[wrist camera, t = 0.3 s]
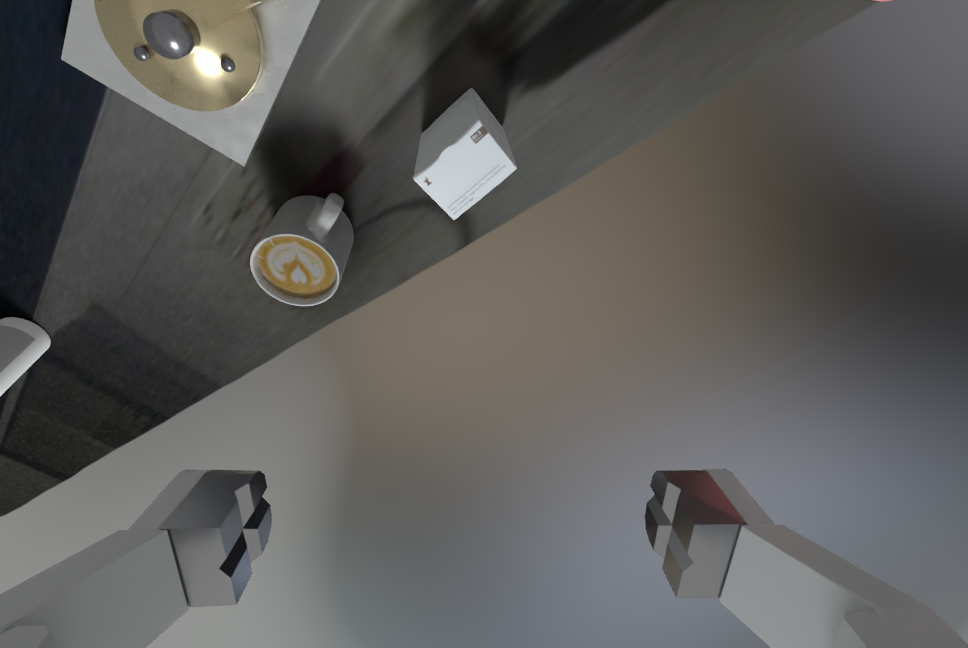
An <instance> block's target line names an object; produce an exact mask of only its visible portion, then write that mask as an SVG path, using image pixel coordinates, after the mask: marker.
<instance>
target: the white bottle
mask: <svg viewBox="0 0 968 648" xmlns="http://www.w3.org/2000/svg"><path fill="white" fill-rule="evenodd" d="M50 343H51V340H50V337H49V335H48V334H47V333H46V331H45V330H43V329H42V328H41V327H40V326H38V325H36V324H35V323H33V322H31V321H28V320H25V319H22V318H16V317H6V318H3V319H0V396H1V395H2V394H3V393H4V392H5V391H6V390H7V389H8V388H9V387H10V386H11V385H12V384H13V383H14V382H15V381H16V380H17V379H18V378H19V377H20V376H21V375H22V374H23V373H24V372H25V371H26V370H27V369H28V368H29V367H30V366H31V365H32V364H33V363H34V362H35V361H36V360H37V359H38V358H39V357H40V356H41V355H42V354H43V353H44V352H45V351H46V350H47V349H48V348H49V347H50Z"/></svg>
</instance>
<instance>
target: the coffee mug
mask: <svg viewBox="0 0 968 648" xmlns="http://www.w3.org/2000/svg"><path fill="white" fill-rule="evenodd" d="M343 204H344V200H343V199H342V197H340V196H339V195H337V194H335V193H331V194H329V196H328V197H327V198H326V199H323V198H320V197H316V196H298V197H295V198H292V199H290V200H288V201H287V202H285V203H284V204H283V205H282V206H281V207H280V209H279V210H278V212H277V213H276V215H275V217H274V218H273V220H272V221H271V223H270V224H269V226H268V227H267V229H266V230H265V232H264V233H263V235H262V236H261V238H260V239H259V241H258V242H257V244H256V245H255V247H254V249H253V251H252V254H251V258H250V267H251V271H252V274H253V276H254V278H255V280H256V282H257V283H258V284H259V285H260V287H261V288H262V289H263V290H264V291H265V292H266V293H268V294H269V295H271V296H272V297H274V298H276V299H277V300H280V301H282V302H284V303H287V304H291V305H296V306H312V305H317V304H320V303H322V302H324V301H326V300H328V299H329V298H330V297H331V296H332V295H333V294H334V293H335V292H336V290H337V288H338V286H339V283H340V280H341V277H342V274H343V271H344V268H345V265H346V262H347V259H348V256H349V253H350V250H351V247H352V244H353V240H354V233H353V228H352V225H351V222H350V220H349V219H348V217H347V215H346V214H345V213H344V212H343V211H342V210H341V209H342V207H343Z"/></svg>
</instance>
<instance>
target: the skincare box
mask: <svg viewBox="0 0 968 648" xmlns="http://www.w3.org/2000/svg"><path fill="white" fill-rule="evenodd" d="M516 169H517V167H516V164H515V161H514V158H513V154H512V152H511V150H510V147H509V144H508V141H507V138H506V136H505V133H504V130H503V127H502V126H501V125H500V123H499V122H498V121H497V119H496V118H495V117H494V115H493V114H492V113H491V112H490V110H489V109H488V108H487V106H486V105H485V104H484V102H483V101H482V100H481V98H480V97H479V96H478V94H477V93H476V92H475V91H474V89H473V88H470V89H469V90H467V91H466V92H465V93H464V94H463V95H462V96H461V97H460V98H459V99H458V100H457V101H456V102H454V103H453V104H452V105H451V106H450V107H449V108H448V109H447V110H446V111H445V112H444V113H443V114H442V115H441V116H439V117H438V118H437V119H436V120H435V121H434V122H433V124H432V125H431V126H430V127H429V128H428V129H426V130H425V131H424V132H423V133H422V134H421V137H420V143H419V149H418V155H417V161H416V166H415V172H414V177H413V179H414V181H415V182H417V183H418V184H419V185H420V186H421V188H422V189H423V190H424V191H425V192H426V193H427V194H428V195H429V196H430V197H431V198H432V199H433V200H434V201H435V202H436V203H437V204H438V205H439V206H440V207H441V208H442V209H443V210H444V211H445V212H446V213H447V214H448V215H449V216H450V217H451V218H452V219H453V220H455V219H456V218H458V217H459V216H460V215H461V214H462V213H464V212H465V211H466V210H467V209H469V208H470V207H471V206H472V205H474V204H475V203H476V202H477V201H479V200H480V199H481V198H482V197H484V196H485V195H486V194H487V193H488V192H490V191H491V190H492V189H493V188H494V187H496V186H497V185H498V184H499V183H501V182H502V181H503V180H504V179H505V178H507V177H508V176H509V175H510V174H511V173H512V172H514V171H515V170H516Z"/></svg>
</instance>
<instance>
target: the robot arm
mask: <svg viewBox="0 0 968 648" xmlns="http://www.w3.org/2000/svg"><path fill="white" fill-rule="evenodd" d="M650 487H651V489H652V490H653V492H654V494H655V495H654V497H652V498H651V499H650V500H649V501H648V502H647V505H646V511H645V523H646V531H647V535H648V538H649V541H650V543H651V546H652V548H653V550H654V551H655V552H657V553H658V554H660V555H661V556H662V557H663V558H664V563H663V567H662V569H663V571H664V573H665V575H666V577H667V579H668V581H669V584H670V586H671V588H672V590H673V592H674V594H675V596H676V598H711V599H712V598H713V599H715V598H716V599H720V602H721V603H722V604H723V605H725V606H726V607H727V608H728V609H729V610H730V611H731V612H732V613H733V614H735V615H736V616H737V617H738V618H739V619H740V620H741V621H742V622H743V623H744V624H746V625H747V626H748V627H749V628H750V629H751V630H752V631H753V632H754V633H755V634H756V635H758V636H759V637H760V638H761V639H762V640H763V641H764V642H765V643H766V644H768V645H769V646H770V647H771V648H968V644H967V643H966V642H964V640H963V639H962V638H961V637H960V636H959V635H958V634H957V633H956V632H954V631H953V630H952V629H951V628H950V627H949V626H948V625H947V624H946V623H945V622H944V621H943V620H942V619H941V618H940V617H939V616H938V615H937V614H936V613H935V612H934V611H933V610H932V609H931V608H930V607H928V606H926V605H924V604H922V603H921V602H919V601H917V600H915V599H914V598H912V597H910V596H908V595H907V594H905V593H903V592H901V591H899V590H898V589H896V588H894V587H892V586H891V585H889V584H887V583H885V582H883V581H882V580H880V579H878V578H876V577H874V576H873V575H871V574H869V573H867V572H866V571H864V570H862V569H860V568H858V567H857V566H855V565H853V564H851V563H850V562H848V561H846V560H844V559H842V558H841V557H839V556H837V555H835V554H833V553H832V552H830V551H828V550H827V549H825V548H823V547H821V546H819V545H818V544H816V543H814V542H812V541H811V540H809V539H807V538H805V537H803V536H802V535H800V534H798V533H796V532H795V531H793V530H791V529H789V528H787V527H786V526H784V525H775V524H774V522H773V521H772V520H771V519H770V518H769V517H768V515H767V514H766V513H765V512H764V511H763V509H762V508H761V507H760V506H759V505H758V504H757V502H756V501H755V500H754V499H753V497H752V496H751V495H750V494H749V493H748V491H747V490H746V489H745V488H744V487H743V486H742V484H741V483H740V482H739V481H738V479H737V478H736V477H735V476H734V475H733V473H732V472H730V471H728V470H727V469H703V470H673V471H672V470H666V471H665V470H659V471H655V472H654V474H653V476H652V480H651V484H650ZM266 489H267V483H266V479H265V474H263V473H262V472H261V471H240V470H185V471H182V472H180V473H178V474H177V475H176V476H175V477H174V479H173V480H172V481H171V482H170V483H169V484H168V486H166V488H165V489H164V490H163V491H162V492H161V493H160V494H159V496H158V497H157V498H156V499H155V500H154V501H153V502H152V504H151V505H150V506H149V507H148V508H147V509H146V510H145V511H144V512H143V514H142V515H141V516H140V517H139V518H138V519H137V520H136V522H135V523H134V524H133V525H132V526H131V527H130V528H129V529H128V530H119V531H117V532H115V533H113V534H111V535H110V536H108V537H106V538H104V539H102V540H100V541H98V542H97V543H95V544H93V545H91V546H89V547H87V548H85V549H84V550H82V551H80V552H78V553H76V554H74V555H72V556H71V557H69V558H67V559H65V560H63V561H61V562H59V563H58V564H56V565H54V566H52V567H50V568H49V569H46V570H45V571H43V572H41V573H39V574H37V575H35V576H33V577H31V578H30V579H28V580H26V581H24V582H22V583H21V584H18V585H17V586H15V587H13V588H11V589H9V590H7V591H5V592H4V593H2V594H0V648H145V647H147V646H148V645H149V644H150V643H151V642H152V641H153V640H155V639H156V638H157V637H158V636H159V635H160V634H162V633H163V632H164V631H165V630H166V629H167V628H168V627H169V626H171V625H172V624H173V623H174V622H175V621H176V620H177V619H178V618H180V617H181V616H182V615H183V614H184V613H185V612H187V611H188V607H202V606H222V605H236V604H237V603H238V601H239V599H240V597H241V595H242V593H243V591H244V589H245V587H246V585H247V583H248V581H249V579H250V577H251V575H252V569H251V564H250V563H251V562H252V561H253V560H255V559H256V558H257V557H259V556H260V555H261V554H262V553H263V551H264V549H265V547H266V544H267V542H268V539H269V535H270V531H271V526H272V525H271V524H272V513H271V506H270V504H269V503H268V502H267V501H266V500H265V499H264V498H263V497H262V496H263V494H264V492H265V491H266Z"/></svg>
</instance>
